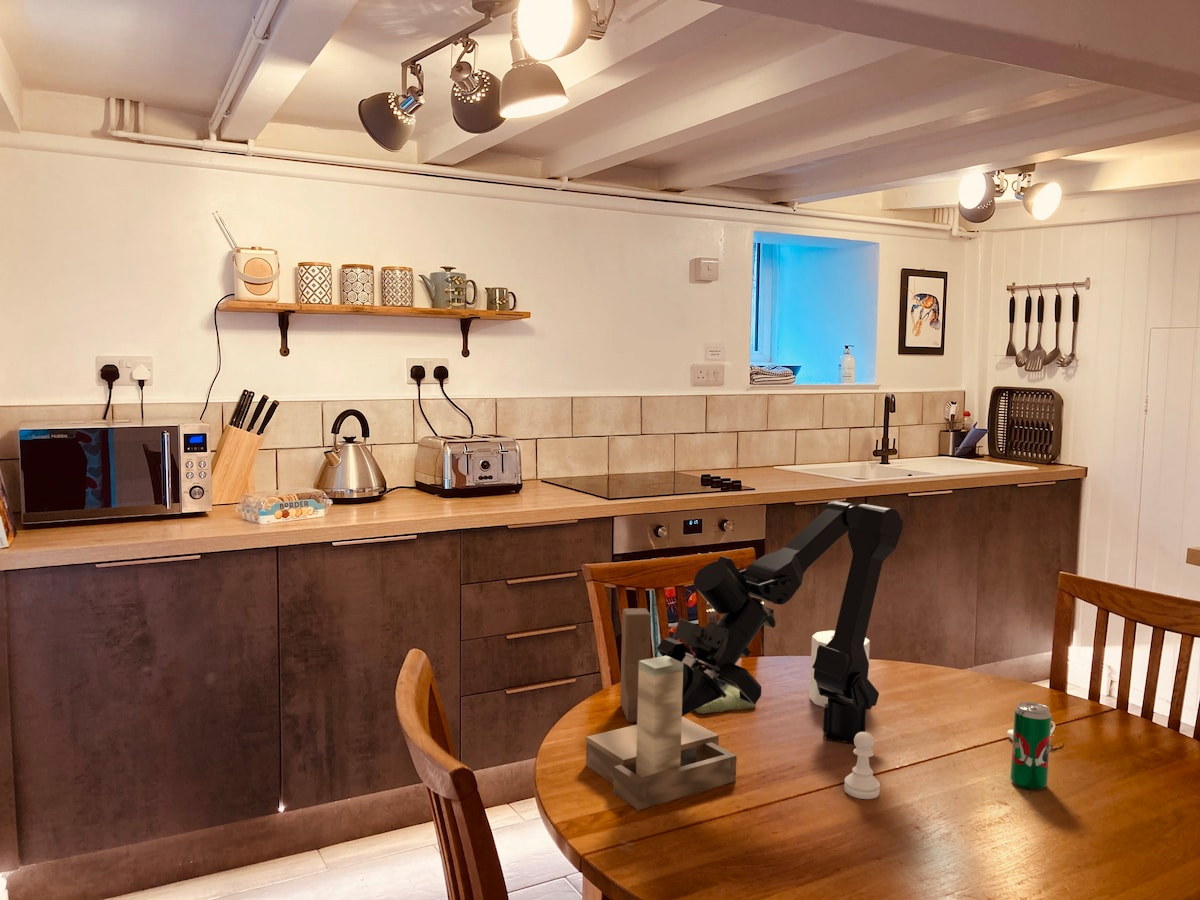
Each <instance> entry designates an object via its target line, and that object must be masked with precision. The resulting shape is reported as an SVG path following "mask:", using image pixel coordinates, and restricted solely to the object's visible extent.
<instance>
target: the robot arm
mask: <svg viewBox="0 0 1200 900" xmlns="http://www.w3.org/2000/svg"><path fill="white" fill-rule="evenodd" d="M903 524H904V521H903V519H902V518H901V515H900V513H899V512H898V511H897V510H896V509H895V508H890V507H886V506H885V507H884V506H879V505H873V504H867V503H861V504H859V505H856V504H854V503H849V502H845V501H839V500H838V501H837V500H834V501H830V502H828V503H827V504H826V505H825V507H824V510H823V511H822V512H821V513H819V514H818V516H817V517H815V518H814V519H813V520H812V521H811V522H810V523H809V524H808V525H806V526H805V527H804V528H803V529H802V530H801V531H800V532H799V533H797V535H795V536H794V537H793V538H792V539H791V540H790V541H789V542H788V543H787V544H786V545H785V546H783V547H781V549H779V550H777V551H772V552H770V553H766V554H764V555H762V556H761V557H759V558H758V559H756V560H754V561H752V562H751V563H750V564H749V565H748V566H747V567H746V568H745V569H741V570H739V569H738V567H737V566H736V564H735V562H734V561H733V560H732V558H730V557H727V556H724V555H720V556H719V558H718V560H717V561H713V562H710V563H708V564H706V565H705V566H704V567H702V568H699V570H698V571H697V572H696V574H695V576H694V578H693V586H694V588H695V590H696V591H697V592H698V593H699V594H700V596H701V597H702V598H703V599H704V600H705V601H706V603H708V605H709V606H710V607H711V608H712V609H713V611H715V612H716V613H717V614H719V615H720V614H722V615H721V616H720V618H719V620H718V621H717V622H716V623H713V622H711V621H710V622H707V623H706V625H705V626H702V625H698V624H696V623H694V622H691V621H689V620H686V619H683V618H679V620H678V623H677V625H676V627H675V630H674V632H673V635H672V637H666V638H662V640H661V641H660V643H659V644H658V646H657V647H656V651H657V652H658V653H659V654H660V655H661V656H669V657H671V658H673V659H676V660H678V661H680V662H682V663H683V692H682V716H683V717H684V716H686V715H688V714H689V713H692V712H694V710H695V709H697V708H699V707H701V706H703V705H705V704H707V703H709V702H711V701H713V700H716V699H718V698H720V697H723V698H725V697H726V696H727V695H726V694H725V693H724V692H725V691H726V689H727V688H728V686H729V685H730V686H733V687H735V688H737V689H739V690H740V692H739V693H740V698H741V700H743V701H745V702H747V703H749V704H752V705H755V704H756V705H757V702H758V700H760V698H761V696H762V685H761V684H760V683H759V682H758V681H757V680H756V678H755V677H754V676H753V675H752V673H750V672H749V670H748V669H746V668H744V667H741V666H740V665H737V662H738V661H739V660H740V658H741V656H742V657H745V658H748V657H749V656H750V654H751V651H750V650H749V649H748V647H749V646H750V644H751V642H752V641H753V639H754V638H755V636H756V635H757V634H758V632H759V631H760V630H761V628H762V627H763V625H764V626H766V627H770V628H772V629H774V628H775V627H776V619H775V616H774V615H775V610H774V608H773V609H772V608H770V607H766V606H764V604H763V603H762V602H761V601H760V600H762V601H765V602H768V603H771V604H775V605H781V606H782V605H785V604H786V603H788V602H789V601H790V600H791V599H792V598H793V596H794V595H795V594H796V592H797V591H798V590H799V588H800V587H801V586H802V584H803V579H804V574H805V573H806V571H807V570H808V569H810V567H811V566H812V565H813V564H814V563H816V561H817V560H818V559H819V558H821V556H822V555H824V554H825V553H826V552H827V551H828V550H829V549H830V548H831V547H832V546H833V545H834V544H835V543H836V542H837V541H839V540H840V538H842V537H843V535H845V534H846V533H847V539H848V543H849V546H850V549H851V553H852V557H851V560H850V565H849V569H848V573H847V577H846V582H845V587H844V591H843V595H842V599H841V603H840V608H839V613H838V615H837V616H838V617H837V621H836V625H835V629H834V631H835V633H834V637H833V639H832V640H831V641H830V642H829V643H828V644H827V645H826V646H822V645H820V646H819V647H818V649H817V655H816V660H815V663H814V665H813V667H812V668H814V679H815V680H816V683H817V687H818V691H819V695H821V696H825V697H828V704H825V705H824V707H823V720H822V721H823V722H822V732H823V733H825V736H824V738H825V740H826V741H834V742H842V743H849V744H854V738H855V736H856V734H857V733H859V732H867V728H866V727H867V726H866V722H867V710H871V709H872V708H873V707H874V706H876V705H877V703H878V699H879V695H880V693H879V691H878V690H877V688H876V687H875V686H874V685H873V684H872V682H871V681H870V679H869V669H870V662H869V663H868V659H867V656H866V652H865V649H864V641H865V637H866V636H867V632H868V629H869V622H870V619H871V614H872V610H873V607H874V606H873V605H874V601H875V597H876V592H877V589H878V583H879V580H880V574H881V571H882V566H883V563H884V561H885V560H886V559H887V558H888V557H889V556H890V555H891V554H892V552H894V550H895V549H896V547H897V546H898V543H899V540H900V538H901V537H900V536H901V535H902V531H903V526H904V525H903ZM866 638H867V637H866ZM687 645H688V646H687ZM867 678H868V679H867Z"/></svg>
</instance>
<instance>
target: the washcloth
mask: <svg viewBox="0 0 1200 900" xmlns="http://www.w3.org/2000/svg"><path fill="white" fill-rule="evenodd" d="M739 692H740V690H739V689H737V688H735V687H733V686H730V685H729V686H728V688H727V689H726V691H725V692H724V693H725V694H726V695H727V696H726V697H725V698H723V697H720V698H718V699H716V700H713V701H711V702H709V703H707V704H705V705H703V706H701V707H699V708H697V709H695V710H693V712H695V713H697V714H700V715H706V714H711V713H723V712H724V711H731V710H735V711H739V710H748V709H752V708H755V707H756V706H757V703H756V704H755V705H752V704H749V703H747V702H745V701H743V700H741V698H740V693H739Z"/></svg>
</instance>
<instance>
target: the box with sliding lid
mask: <svg viewBox="0 0 1200 900" xmlns="http://www.w3.org/2000/svg"><path fill="white" fill-rule="evenodd" d="M719 735H720V734H718V733H715V732H713V731H711V730H709V729H708V728H705V727H703V726H702V725H700V724H697V723H696V722H695V721H692V720H691V719H688V718H686V717H684V716H682V727H681V761H680V767H678V768H674V769H671V770H667V771H663V772H660V773H656V774H653V775H649V776H645V777H642V778H641V777H639V776H638V775H636V752H637V724H634V725H633V724H632V725H629V726H625V727H621V728H617V729H612V730H609V731H605V732H600V733H595V734H591V735H587V736H586V742H585V743H586V746H585V747H586V748H585V766H586V767H588V768H589V769H590V770H591V771H593V772H595V773H596V774H597V775H599V776H601V777H602V778H604V779H605V780H606V781H608V782H610V783H611V784H612V785H613V791H612V792H613V794H614V795H615V796H616V797H618V798H620V799H621V800H623V802H625V803H627V804H628V805H630V807H632V808H634V809H635V810H636V811H641V810H645V809H648V808H649V809H650V808H652V807H655V806H658V805H662V804H665V803H670V802H672V801H676V800H677V799H682V798H685V797H686V798H687V797H688V796H692V795H695V794H699V793H702V792H705V791H708V790H712V789H715V788H718V787H721V786H726V785H729V784H732V783H736V782H737V755H736V754H735V753H732V752H730V751H729V750H727V749H726V748H723V747H722V746H719V739H720V737H719Z"/></svg>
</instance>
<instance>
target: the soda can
mask: <svg viewBox="0 0 1200 900" xmlns="http://www.w3.org/2000/svg"><path fill="white" fill-rule="evenodd" d="M1052 717H1053V716H1052V715H1051V713H1050V708H1049V707H1048V706H1046V705H1044V704H1042V703H1037V702H1033V701H1022V702H1019V703H1017V707H1016V708H1015V709H1014V713H1013V739H1012V747H1011V763H1010V764H1011V765H1010V780H1011V781H1012V782H1013V784H1014V785H1015V786H1017V787H1019V788H1022V789H1025V790H1030V791H1041V790H1043V789H1044V788H1045V787H1046V786H1048V775H1049V763H1050V751H1051V749H1050V747H1051V738H1050V736H1051V735H1052V734H1051V730H1052V723H1051V721H1052ZM1052 722H1053V721H1052Z"/></svg>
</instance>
